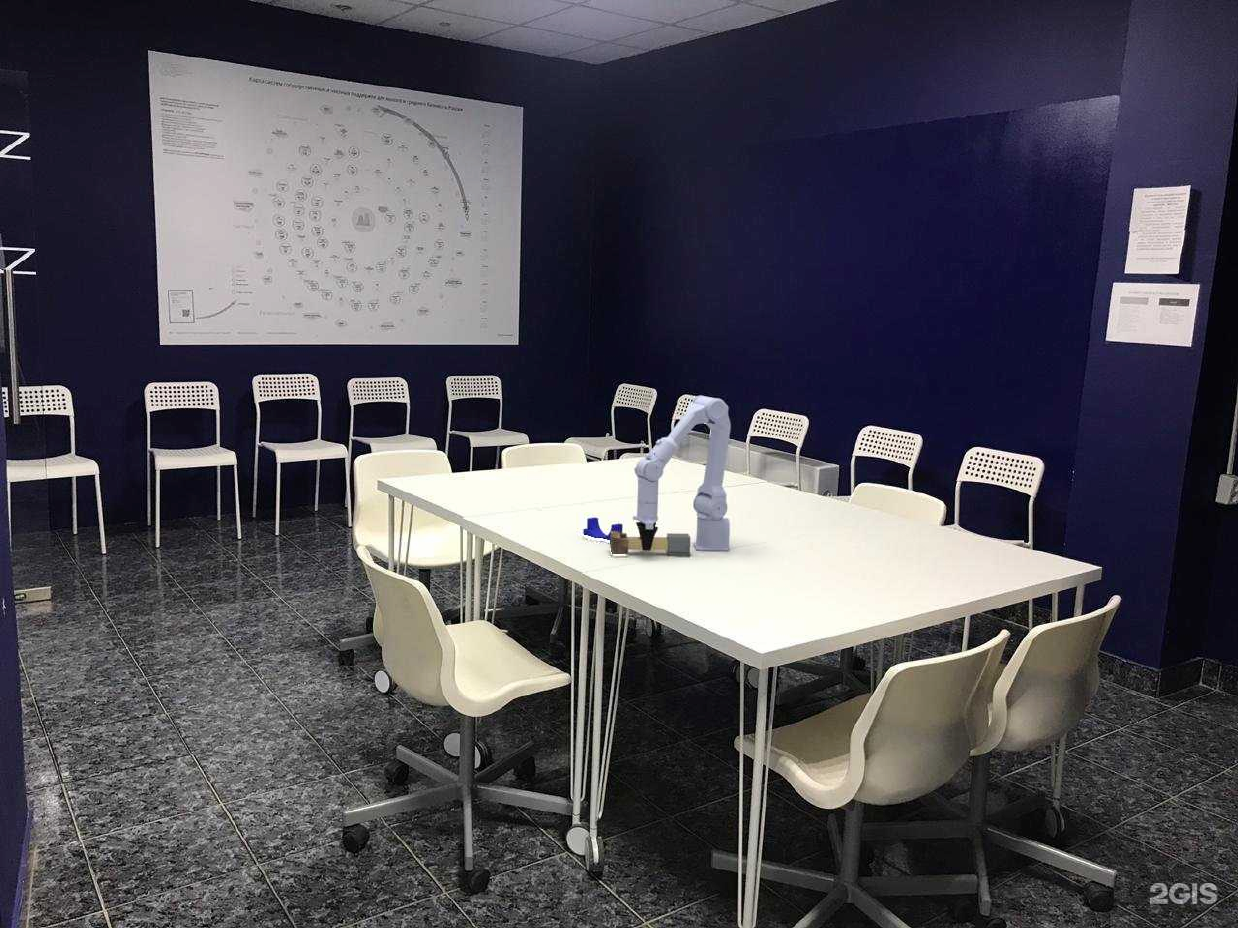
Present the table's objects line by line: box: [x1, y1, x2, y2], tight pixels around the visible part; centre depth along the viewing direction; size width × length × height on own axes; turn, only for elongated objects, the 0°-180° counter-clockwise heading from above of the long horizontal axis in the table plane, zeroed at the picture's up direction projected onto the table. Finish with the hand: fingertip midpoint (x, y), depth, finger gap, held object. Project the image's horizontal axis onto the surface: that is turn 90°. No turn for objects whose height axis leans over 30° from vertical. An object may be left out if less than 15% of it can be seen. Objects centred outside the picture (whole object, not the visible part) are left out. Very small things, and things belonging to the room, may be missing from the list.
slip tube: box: [625, 536, 669, 551], centre depth 281 cm, size 14×3×3 cm, turn 94°
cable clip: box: [582, 517, 623, 540], centre depth 295 cm, size 12×4×6 cm, turn 44°
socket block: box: [609, 530, 629, 556], centre depth 280 cm, size 4×8×6 cm, turn 4°
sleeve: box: [665, 532, 691, 558], centre depth 282 cm, size 6×6×5 cm
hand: (646, 548), depth 281 cm, fingers closed on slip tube, 3 cm apart
